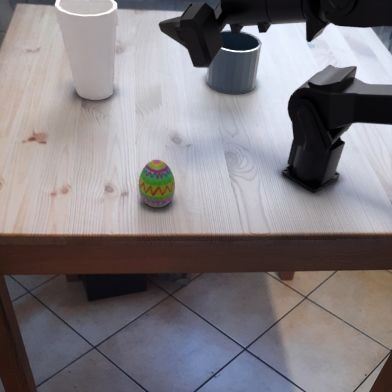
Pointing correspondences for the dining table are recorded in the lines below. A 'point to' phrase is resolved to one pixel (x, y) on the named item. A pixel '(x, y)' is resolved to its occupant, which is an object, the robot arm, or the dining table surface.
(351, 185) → the dining table surface
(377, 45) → the dining table surface
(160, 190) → the egg
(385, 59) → the dining table surface
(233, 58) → the cup
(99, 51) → the foam cup
